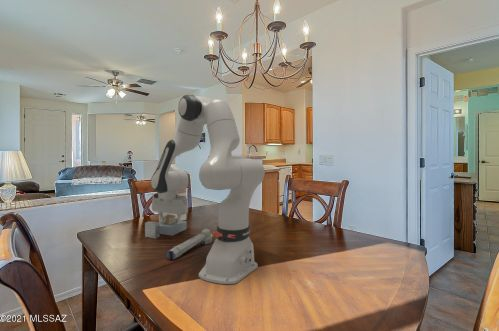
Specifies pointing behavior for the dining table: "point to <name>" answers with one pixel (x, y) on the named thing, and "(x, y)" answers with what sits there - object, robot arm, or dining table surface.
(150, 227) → the pale grey block
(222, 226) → the robot arm
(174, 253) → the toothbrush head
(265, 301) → the dining table surface
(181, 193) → the coffeecake box
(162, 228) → the bore block
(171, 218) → the block
